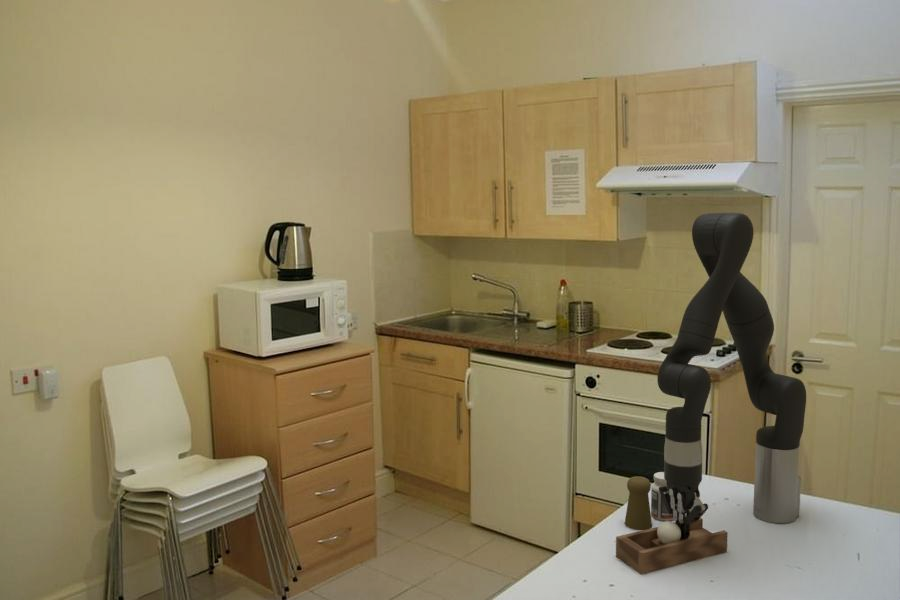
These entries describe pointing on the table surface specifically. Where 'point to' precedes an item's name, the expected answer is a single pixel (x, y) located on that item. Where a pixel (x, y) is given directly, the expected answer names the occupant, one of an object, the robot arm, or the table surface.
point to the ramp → (668, 548)
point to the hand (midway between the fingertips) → (682, 537)
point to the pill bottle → (659, 499)
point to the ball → (668, 532)
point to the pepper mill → (638, 504)
